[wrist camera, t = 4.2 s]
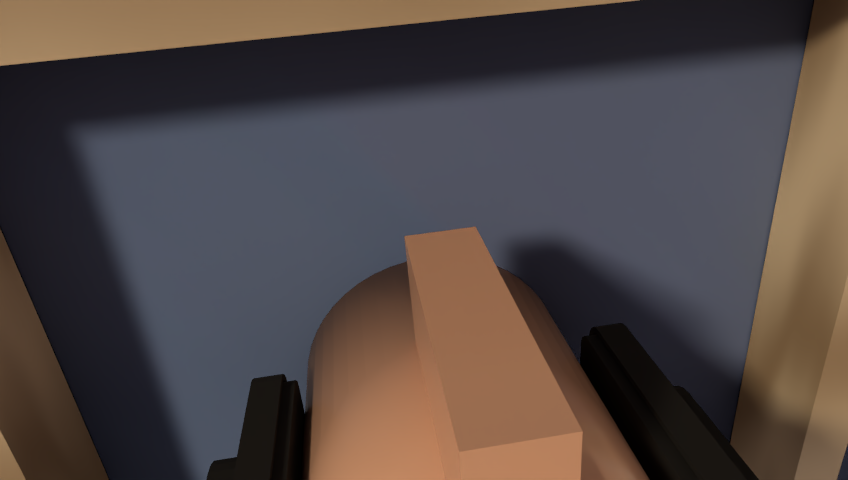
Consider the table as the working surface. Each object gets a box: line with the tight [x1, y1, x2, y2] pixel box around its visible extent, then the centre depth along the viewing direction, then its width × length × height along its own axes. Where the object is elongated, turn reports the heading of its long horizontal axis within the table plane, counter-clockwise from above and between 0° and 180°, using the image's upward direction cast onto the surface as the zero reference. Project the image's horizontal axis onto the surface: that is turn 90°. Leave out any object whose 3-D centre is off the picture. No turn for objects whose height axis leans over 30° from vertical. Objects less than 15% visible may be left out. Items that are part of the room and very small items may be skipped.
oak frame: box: [0, 0, 848, 480], centre depth 11 cm, size 16×16×2 cm
